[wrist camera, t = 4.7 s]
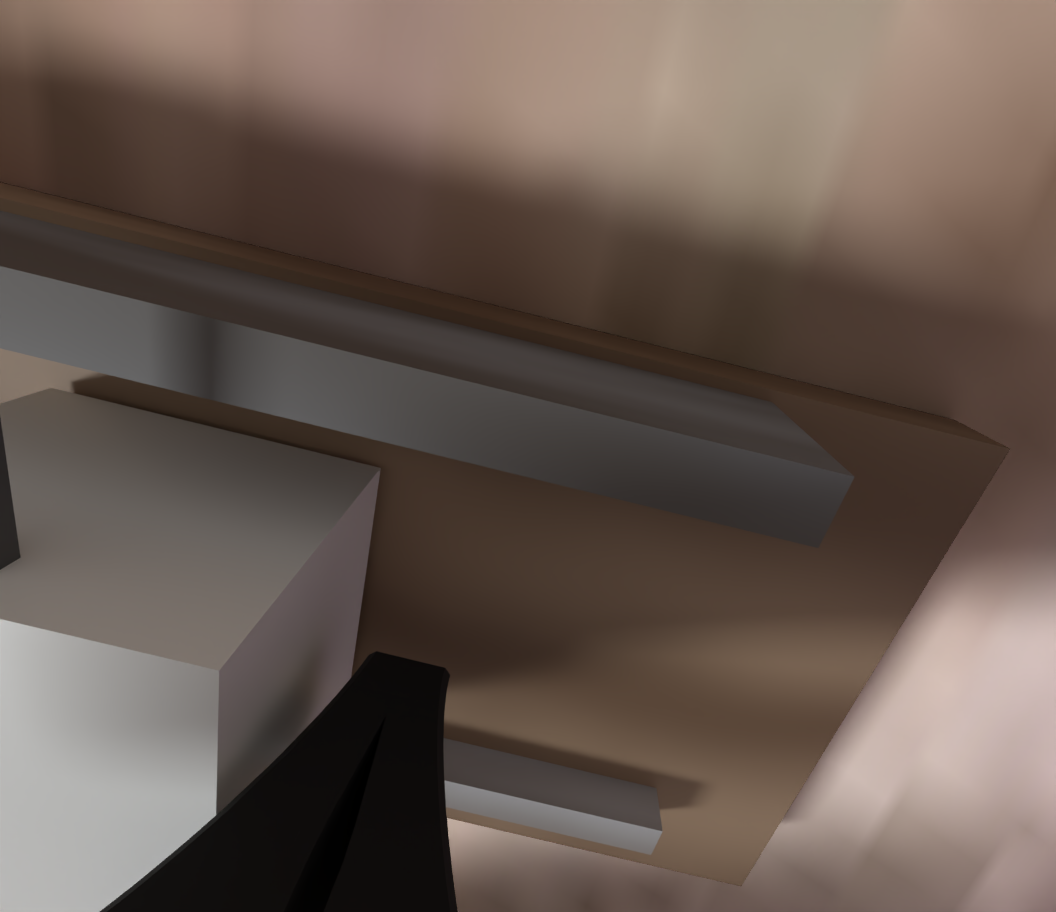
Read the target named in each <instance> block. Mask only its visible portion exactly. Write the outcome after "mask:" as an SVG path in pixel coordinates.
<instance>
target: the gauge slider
mask: <svg viewBox="0 0 1056 912" xmlns="http://www.w3.org/2000/svg"><path fill="white" fill-rule="evenodd" d="M380 470H381V468H379V467H375V466H371V465H367V464H363V463H358V462H354V461H350V460H346V459H342V458H338V457H334V456H330V455H326V454H321V453H317V452H313V451H309V450H305V449H301V448H297V447H293V446H289V445H285V444H280V443H276V442H272V441H268V440H264V439H260V438H256V437H252V436H248V435H243V434H239V433H235V432H231V431H227V430H223V429H219V428H215V427H211V426H206V425H202V424H198V423H194V422H190V421H186V420H182V419H178V418H174V417H169V416H165V415H161V414H157V413H153V412H149V411H145V410H141V409H137V408H133V407H128V406H124V405H120V404H116V403H112V402H108V401H104V400H100V399H96V398H91V397H87V396H83V395H79V394H75V393H71V392H67V391H63V390H59V389H54V388H49V389H45V390H42V391H39V392H36V393H33V394H29V395H26V396H23V397H20V398H17V399H13V400H10V401H7V402H4V403H1V404H0V912H100V911H101V910H102V909H104V908H105V907H106V906H108V905H109V904H110V903H111V902H113V901H114V900H115V899H116V898H118V897H119V896H120V895H122V894H123V893H124V892H125V891H127V890H128V889H129V888H131V887H132V886H133V885H134V884H136V883H137V882H138V881H139V880H141V879H142V878H143V877H144V876H145V875H147V874H148V873H149V872H150V871H151V870H153V869H154V868H155V867H156V866H157V865H159V864H160V863H161V862H162V861H163V860H165V859H166V858H167V857H168V856H169V855H171V854H172V853H173V852H174V851H175V850H177V849H178V848H179V847H180V846H181V845H183V844H184V843H185V842H186V841H187V840H188V839H190V838H191V837H192V836H193V835H194V834H195V833H196V832H198V831H199V830H200V829H201V828H202V827H203V826H204V825H206V824H207V823H208V822H209V821H210V820H211V819H212V818H213V817H215V816H216V815H217V814H218V813H219V812H220V811H221V810H222V809H223V808H225V807H226V806H227V805H228V804H229V803H230V802H231V801H232V800H233V799H234V798H235V797H236V796H237V795H238V794H239V793H241V792H242V791H243V790H244V789H245V788H246V787H247V786H248V785H249V784H250V783H251V782H252V781H253V780H254V779H255V778H256V777H258V776H259V775H260V774H261V773H262V772H263V771H264V770H265V769H266V768H267V767H268V766H269V765H270V764H271V763H272V762H273V761H274V760H275V759H276V758H277V757H278V756H279V755H280V754H281V753H282V752H283V751H284V750H285V749H286V748H287V747H288V746H289V745H290V744H291V743H292V742H293V741H294V740H295V739H296V738H297V737H298V736H299V735H300V734H301V733H302V732H303V731H304V730H305V729H306V728H307V726H308V725H309V724H310V723H311V722H312V721H313V720H314V719H315V718H316V717H317V716H318V715H319V714H320V713H321V712H322V711H323V709H324V708H325V707H326V706H327V705H328V704H329V703H330V702H331V701H332V699H333V698H334V697H335V696H336V695H337V694H338V693H339V691H340V690H341V689H342V688H343V687H344V686H345V684H346V683H347V682H348V681H349V680H350V678H351V675H352V667H353V660H354V653H355V646H356V639H357V632H358V625H359V618H360V611H361V604H362V597H363V590H364V583H365V576H366V569H367V562H368V555H369V548H370V541H371V533H372V526H373V519H374V512H375V505H376V498H377V491H378V484H379V477H380Z"/></svg>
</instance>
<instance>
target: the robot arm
mask: <svg viewBox="0 0 1056 912" xmlns="http://www.w3.org/2000/svg"><path fill="white" fill-rule="evenodd" d="M449 678H450V674H449V672H448V671H447V670H446V668H444V667H440V666H436V665H432V664H428V663H424V662H419V661H415V660H411V659H407V658H403V657H399V656H394V655H390V654H386V653H382V652H378V651H376V652H374V653H372V654H369V655H368V656H367V658H366V659H365V661H364V662H363V663H362V665H361V666H360V667H359V668H358V670H357V671H356V672H355V673H354V675H353V676H352V677H351V678H350V680H349V681H348V682H347V683H346V684H345V686H344V687H343V688H342V689H341V690H340V691H339V693H338V694H337V695H336V696H335V697H334V698H333V699H332V701H331V702H330V703H329V704H328V705H327V706H326V707H325V708H324V709H323V711H322V712H321V713H320V714H319V715H318V716H317V717H316V718H315V719H314V720H313V721H312V722H311V723H310V724H309V725H308V726H307V728H306V729H305V730H304V731H303V732H302V733H301V734H300V735H299V736H298V737H297V738H296V739H295V740H294V741H293V742H292V743H291V744H290V745H289V746H288V747H287V748H286V749H285V750H284V751H283V752H282V753H281V754H280V755H279V756H278V757H277V758H276V759H275V760H274V761H273V762H272V763H271V764H270V765H269V766H268V767H267V768H266V769H265V770H264V771H263V772H262V773H261V774H260V775H259V776H258V777H256V778H255V779H254V780H253V781H252V782H251V783H250V784H249V785H248V786H247V787H246V788H245V789H244V790H243V791H242V792H241V793H239V794H238V795H237V796H236V797H235V798H234V799H233V800H232V801H231V802H230V803H229V804H228V805H227V806H226V807H225V808H223V809H222V810H221V811H220V812H219V813H218V814H217V815H216V816H215V817H213V818H212V819H211V820H210V821H209V822H208V823H207V824H206V825H204V826H203V827H202V828H201V829H200V830H199V831H198V832H196V833H195V834H194V835H193V836H192V837H191V838H190V839H188V840H187V841H186V842H185V843H184V844H183V845H181V846H180V847H179V848H178V849H177V850H175V851H174V852H173V853H172V854H171V855H169V856H168V857H167V858H166V859H165V860H163V861H162V862H161V863H160V864H159V865H157V866H156V867H155V868H154V869H153V870H151V871H150V872H149V873H148V874H147V875H145V876H144V877H143V878H142V879H141V880H139V881H138V882H137V883H136V884H134V885H133V886H132V887H131V888H129V889H128V890H127V891H125V892H124V893H123V894H122V895H120V896H119V897H118V898H116V899H115V900H114V901H113V902H111V903H110V904H109V905H108V906H106V907H105V908H104V909H102V910H101V911H100V912H458V911H457V904H456V897H455V890H454V882H453V874H452V865H451V856H450V847H449V838H448V827H447V815H446V799H445V780H444V750H443V744H444V713H445V702H446V694H447V687H448V682H449Z"/></svg>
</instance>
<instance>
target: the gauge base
mask: <svg viewBox="0 0 1056 912" xmlns="http://www.w3.org/2000/svg"><path fill="white" fill-rule="evenodd" d="M49 388H54V389H59V390H63V391H67V392H71V393H75V394H79V395H83V396H87V397H91V398H96V399H100V400H104V401H108V402H112V403H116V404H120V405H124V406H128V407H133V408H137V409H141V410H145V411H149V412H153V413H157V414H161V415H165V416H169V417H174V418H178V419H182V420H186V421H190V422H194V423H198V424H202V425H206V426H211V427H215V428H219V429H223V430H227V431H231V432H235V433H239V434H243V435H248V436H252V437H256V438H260V439H264V440H268V441H272V442H276V443H280V444H285V445H289V446H293V447H297V448H301V449H305V450H309V451H313V452H317V453H321V454H326V455H330V456H334V457H338V458H342V459H346V460H350V461H354V462H358V463H363V464H367V465H371V466H375V467H379V468H381V470H380V477H379V484H378V491H377V498H376V505H375V512H374V519H373V526H372V533H371V541H370V548H369V555H368V562H367V569H366V576H365V583H364V590H363V597H362V604H361V611H360V618H359V625H358V632H357V639H356V646H355V653H354V660H353V667H352V675H351V677H352V676H353V675H354V673H355V672H356V671H357V670H358V668H359V667H360V666H361V665H362V663H363V662H364V661H365V659H366V658H367V656H368V655H369V654H372V653H374V652H376V651H378V652H382V653H386V654H390V655H394V656H399V657H403V658H407V659H411V660H415V661H419V662H424V663H428V664H432V665H436V666H440V667H444V668H446V670H447V671H448V672H449V674H450V678H449V682H448V687H447V694H446V702H445V713H444V744H443V750H444V780H445V799H446V815H447V818H450V819H454V820H459V821H463V822H467V823H472V824H476V825H480V826H485V827H489V828H493V829H497V830H502V831H506V832H510V833H515V834H519V835H523V836H527V837H532V838H536V839H540V840H545V841H549V842H553V843H557V844H562V845H566V846H570V847H575V848H579V849H583V850H587V851H592V852H596V853H600V854H605V855H609V856H613V857H617V858H622V859H626V860H630V861H635V862H639V863H643V864H647V865H652V866H656V867H660V868H665V869H669V870H673V871H677V872H682V873H686V874H690V875H695V876H699V877H703V878H707V879H712V880H716V881H720V882H725V883H729V884H733V885H737V886H742V884H743V882H744V881H745V879H746V877H747V876H748V874H749V873H750V871H751V869H752V868H753V866H754V864H755V863H756V861H757V860H758V858H759V856H760V855H761V853H762V851H763V850H764V848H765V847H766V845H767V843H768V842H769V840H770V838H771V837H772V835H773V834H774V832H775V830H776V829H777V827H778V825H779V824H780V822H781V821H782V819H783V817H784V816H785V814H786V812H787V811H788V809H789V808H790V806H791V804H792V803H793V801H794V799H795V798H796V796H797V795H798V793H799V791H800V790H801V788H802V786H803V785H804V783H805V782H806V780H807V778H808V777H809V775H810V773H811V772H812V770H813V769H814V767H815V765H816V764H817V762H818V760H819V759H820V757H821V756H822V754H823V752H824V751H825V749H826V747H827V746H828V744H829V742H830V741H831V739H832V738H833V736H834V734H835V733H836V731H837V729H838V728H839V726H840V725H841V723H842V721H843V720H844V718H845V716H846V715H847V713H848V712H849V710H850V708H851V707H852V705H853V703H854V702H855V700H856V699H857V697H858V695H859V694H860V692H861V690H862V689H863V687H864V686H865V684H866V682H867V681H868V679H869V677H870V676H871V674H872V673H873V671H874V669H875V668H876V666H877V664H878V663H879V661H880V660H881V658H882V656H883V655H884V653H885V651H886V650H887V648H888V647H889V645H890V643H891V642H892V640H893V638H894V637H895V635H896V634H897V632H898V630H899V629H900V627H901V625H902V624H903V622H904V621H905V619H906V617H907V616H908V614H909V612H910V611H911V609H912V608H913V606H914V604H915V603H916V601H917V599H918V598H919V596H920V595H921V593H922V591H923V590H924V588H925V586H926V585H927V583H928V582H929V580H930V578H931V577H932V575H933V573H934V572H935V570H936V569H937V567H938V565H939V564H940V562H941V560H942V559H943V557H944V555H945V554H946V552H947V551H948V549H949V547H950V546H951V544H952V542H953V541H954V539H955V538H956V536H957V534H958V533H959V531H960V529H961V528H962V526H963V525H964V523H965V521H966V520H967V518H968V516H969V515H970V513H971V512H972V510H973V508H974V507H975V505H976V503H977V502H978V500H979V499H980V497H981V495H982V494H983V492H984V490H985V489H986V487H987V486H988V484H989V482H990V481H991V479H992V477H993V476H994V474H995V473H996V471H997V469H998V468H999V466H1000V464H1001V463H1002V461H1003V460H1004V458H1005V456H1006V455H1007V453H1008V451H1009V450H1010V449H1009V448H1008V447H1006V446H1004V445H1002V444H1000V443H998V442H996V441H994V440H992V439H990V438H988V437H986V436H984V435H982V434H980V433H978V432H977V431H975V430H973V429H971V428H969V427H967V426H965V425H963V424H961V423H959V422H957V421H955V420H952V419H948V418H944V417H940V416H936V415H932V414H928V413H924V412H920V411H916V410H912V409H908V408H904V407H900V406H896V405H892V404H888V403H884V402H880V401H876V400H872V399H868V398H864V397H860V396H856V395H852V394H848V393H844V392H840V391H836V390H832V389H828V388H824V387H820V386H816V385H812V384H808V383H804V382H800V381H796V380H792V379H788V378H784V377H780V376H776V375H772V374H768V373H764V372H760V371H756V370H752V369H748V368H744V367H740V366H736V365H732V364H728V363H724V362H720V361H716V360H712V359H708V358H704V357H700V356H696V355H692V354H688V353H684V352H680V351H676V350H672V349H668V348H664V347H660V346H656V345H651V344H647V343H643V342H639V341H635V340H631V339H627V338H623V337H619V336H615V335H611V334H607V333H603V332H599V331H595V330H591V329H587V328H583V327H579V326H575V325H571V324H567V323H563V322H559V321H555V320H551V319H547V318H543V317H539V316H535V315H531V314H527V313H523V312H519V311H515V310H511V309H507V308H503V307H499V306H495V305H491V304H487V303H483V302H479V301H475V300H471V299H467V298H463V297H459V296H455V295H451V294H447V293H443V292H439V291H435V290H431V289H427V288H423V287H419V286H415V285H411V284H407V283H403V282H399V281H395V280H391V279H387V278H383V277H379V276H375V275H371V274H367V273H363V272H359V271H355V270H351V269H347V268H342V267H338V266H334V265H330V264H326V263H322V262H318V261H314V260H310V259H306V258H302V257H298V256H294V255H290V254H286V253H282V252H278V251H274V250H270V249H266V248H262V247H258V246H254V245H250V244H246V243H242V242H238V241H234V240H230V239H226V238H222V237H218V236H214V235H210V234H206V233H202V232H198V231H194V230H190V229H186V228H182V227H178V226H174V225H170V224H166V223H162V222H158V221H154V220H150V219H146V218H142V217H138V216H134V215H130V214H126V213H122V212H118V211H114V210H110V209H106V208H102V207H98V206H94V205H90V204H86V203H82V202H78V201H74V200H70V199H66V198H62V197H58V196H54V195H50V194H46V193H42V192H38V191H33V190H29V189H25V188H21V187H17V186H13V185H9V184H5V183H1V182H0V404H1V403H4V402H7V401H10V400H13V399H17V398H20V397H23V396H26V395H29V394H33V393H36V392H39V391H42V390H45V389H49Z"/></svg>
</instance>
